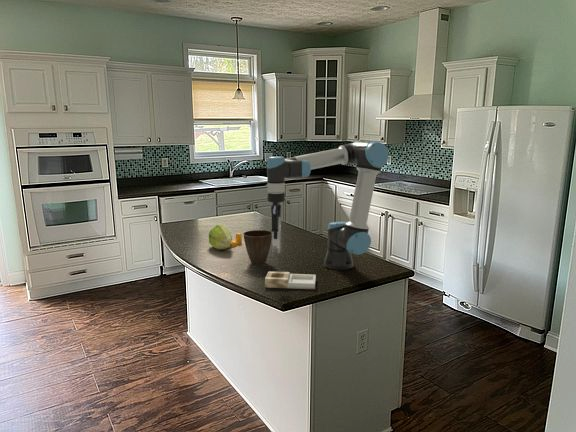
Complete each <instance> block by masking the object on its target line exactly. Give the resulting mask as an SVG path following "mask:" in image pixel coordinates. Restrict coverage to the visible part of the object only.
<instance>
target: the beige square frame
mask: <svg viewBox="0 0 576 432" xmlns="http://www.w3.org/2000/svg"><path fill="white" fill-rule="evenodd" d="M290 274H291V272H290V271H268V272H267V274H266V276H265V277H264V288H271V289H272V288H275V289H289V288H288V279H289V276H290Z"/></svg>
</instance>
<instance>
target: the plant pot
mask: <svg viewBox="0 0 576 432" xmlns="http://www.w3.org/2000/svg"><path fill="white" fill-rule="evenodd" d="M242 236H243V239H244V244H245V248H246V251H247V252H246V253H247V255H248V259H249V260H250V263H251V264H252V265H255V266H256V265H257V266H260V265H264V264H266V263H267V260H268V256H269V254H270V249H271V246H272V232H271V230H270V231H269V230H263V229H262V230H261V229H255V230H248V231H245V232H243V235H242Z"/></svg>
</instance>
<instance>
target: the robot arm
mask: <svg viewBox="0 0 576 432" xmlns="http://www.w3.org/2000/svg"><path fill="white" fill-rule="evenodd" d="M388 160H389V151H388V148H387V147H386V145H385V144H384V143H382V142H380V141H376V140H375V141H373V140H359V141H355V142H350V143H347V144H342V145H339V146H338V148H331V149H328V150H322V151H317V152H314V153H313V152H312V153H307V154H302V155H297V156H292V157H288V158H287V157H286V158H285V157H284V156H268V158H267V162H266V177H267V180H266V181H267V184H265V187H267V201H268V202H269V203H272V205H271V206H270V208H271V209H270V212H271V230H270V232H273V246H279V230H278V222H279V216H280V217H281V215H282V214H281V213H282V204H280V203H283V202H285V201H286V199H285V198H286V197H285V196H286V195H285V191H286V189H285V188H286V187H285V186H286V181H285V180H286V179H296V178H301V179H303V178H308V177H310V174H311V171H312V170H316V169H322V168H325V167H330V166H336V165H340V164H341V165H344V166H345V165H356V167H355V168H356V170H357V171H358V173H357V179H356V183H355V188H354V193H353V197H352V204H351V209H350V213H349V219H348V221H332V222H329V223H328V224H327V250H326V251H327V252H326V255H325V256H324V261H323V266H324V267H325V268H327V269H331V270H338V271H340V270H342V271H343V270H349V269H351V268H353V267H354V261H353V256H352V255H355V256H359V255H363V254H364V253H365V252H367V251H368V250H369V249H370V246H371V244H372V239H371V236H370V234H369V230H370V227H369V226H368V219H369V213H370V209H371V204H372V199H373V194H374V189H375V184H376V179H377V175H378V174H380V173H381V172H382V171H381V170H382V168H383V167H384V166H385V165H386V164H387V163H388ZM281 229H283V226H281Z"/></svg>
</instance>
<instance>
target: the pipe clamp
mask: <svg viewBox="0 0 576 432" xmlns="http://www.w3.org/2000/svg"><path fill="white" fill-rule="evenodd" d="M242 236H243V235H242V233H241V232H238V233H237V232H236V234H235V238H234V239H232V242H231V245H230V246H229V247H228V248H227V249H230V248H233V247H237V246H238V245H241V244H242V243H243V241H242V239H243V237H242Z"/></svg>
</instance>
